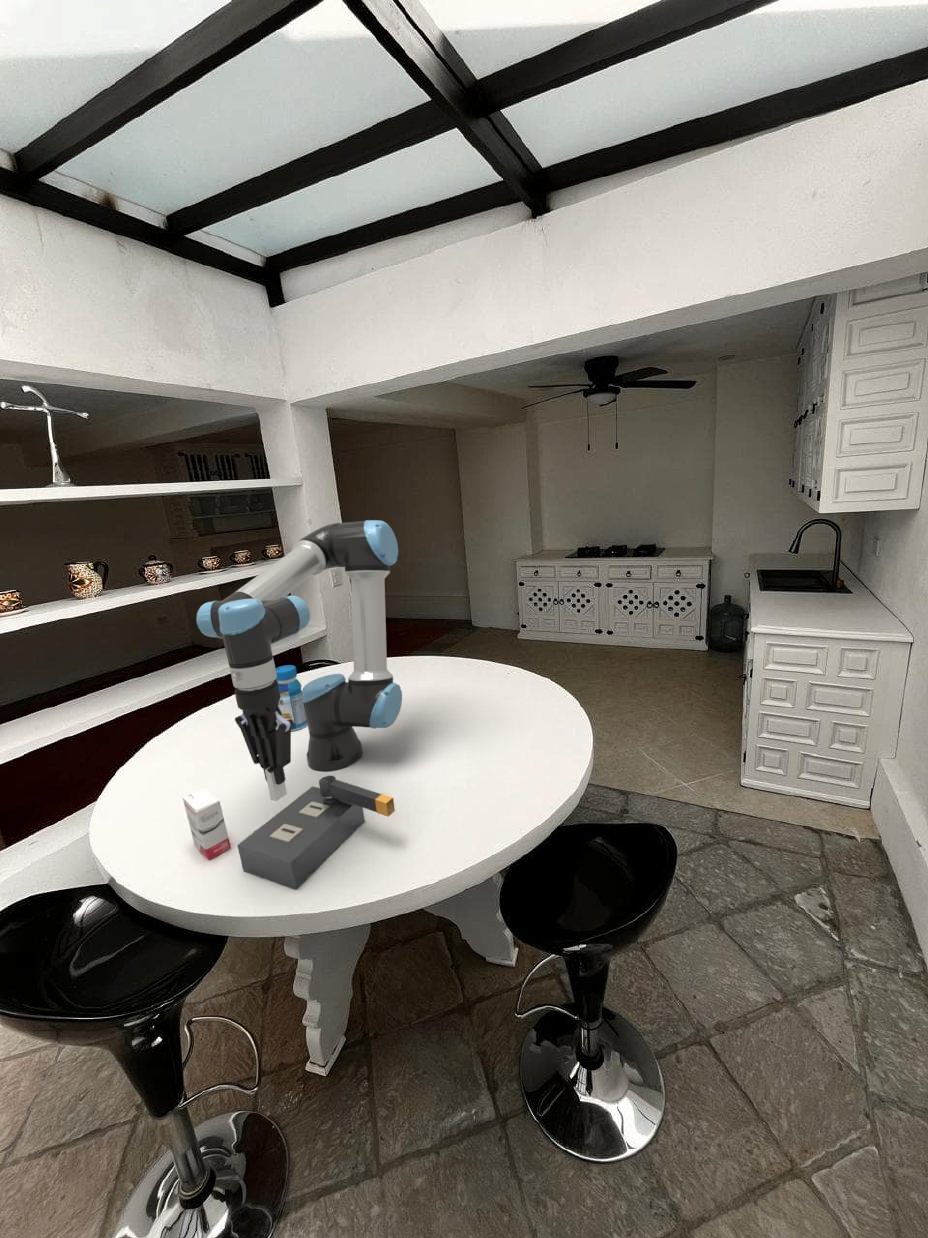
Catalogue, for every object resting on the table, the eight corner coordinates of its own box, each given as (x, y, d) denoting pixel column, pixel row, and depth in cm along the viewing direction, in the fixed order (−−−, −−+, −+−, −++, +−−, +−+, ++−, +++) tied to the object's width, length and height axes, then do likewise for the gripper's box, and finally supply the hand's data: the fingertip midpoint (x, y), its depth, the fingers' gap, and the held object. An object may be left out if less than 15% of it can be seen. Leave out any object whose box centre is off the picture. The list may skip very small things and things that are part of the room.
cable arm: (385, 819, 100) (383, 805, 99) (317, 794, 110) (315, 782, 110) (397, 809, 103) (395, 795, 102) (329, 786, 113) (327, 774, 112)
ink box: (232, 848, 107) (220, 799, 104) (208, 861, 103) (195, 811, 100) (216, 832, 112) (205, 785, 109) (193, 844, 109) (180, 796, 106)
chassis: (243, 871, 99) (236, 841, 98) (316, 809, 117) (311, 783, 116) (296, 890, 93) (289, 858, 91) (364, 821, 111) (360, 794, 109)
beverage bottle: (309, 728, 161) (299, 669, 156) (282, 734, 158) (270, 675, 153) (307, 718, 168) (297, 662, 164) (281, 724, 166) (270, 667, 161)
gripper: (214, 688, 92) (240, 801, 98) (265, 695, 86) (289, 815, 92) (247, 673, 98) (269, 780, 104) (297, 679, 92) (317, 792, 98)
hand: (279, 796), depth 98 cm, fingers closed
